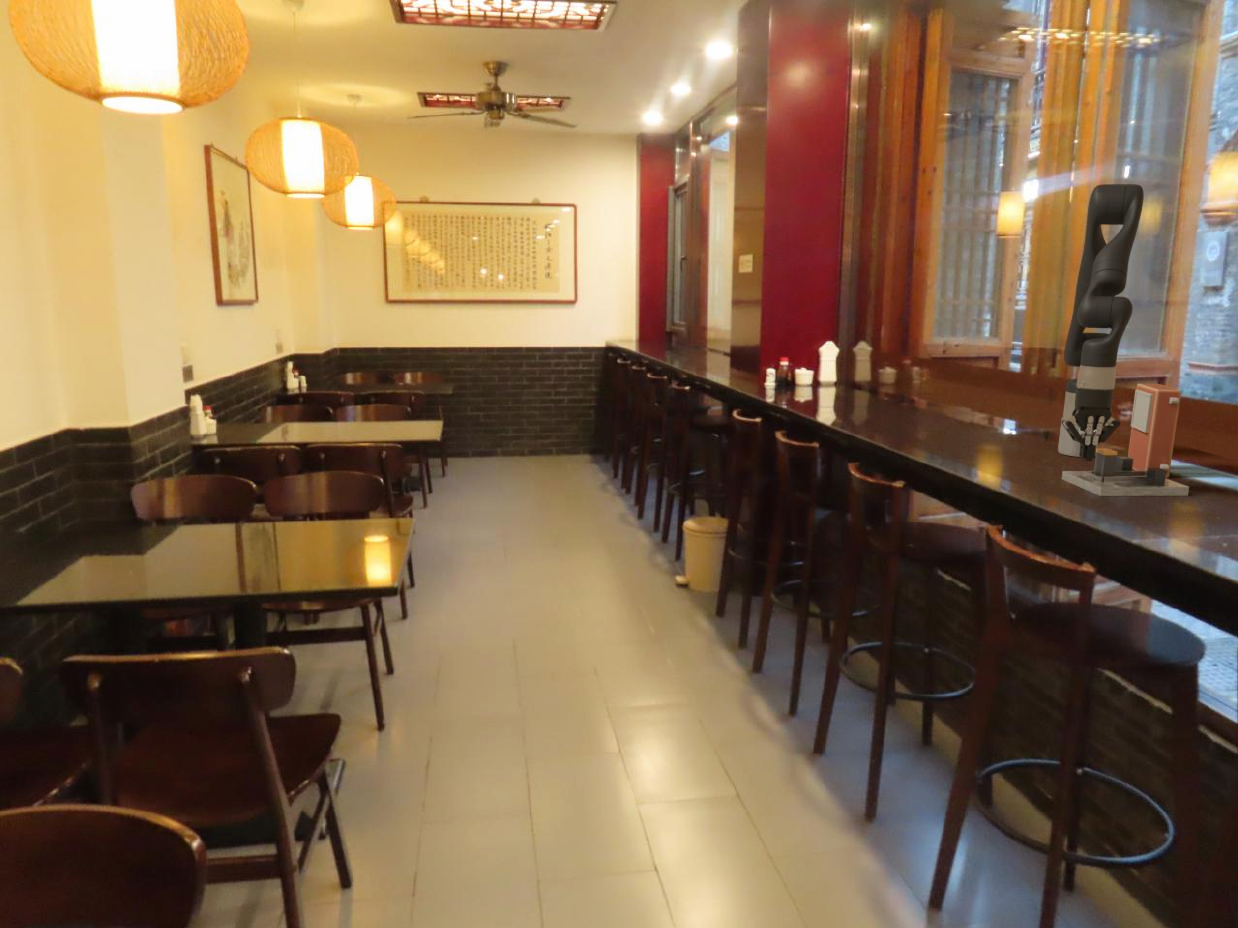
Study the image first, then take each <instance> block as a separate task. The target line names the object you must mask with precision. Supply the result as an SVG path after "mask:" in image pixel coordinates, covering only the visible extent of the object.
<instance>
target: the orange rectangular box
mask: <svg viewBox="0 0 1238 928" xmlns="http://www.w3.org/2000/svg"><path fill="white" fill-rule="evenodd" d="M1134 392H1135V393H1134V399H1133V406H1132V414H1131V422H1130V427H1131V430H1130V437H1129V444H1128V451H1127V452H1128V454H1127V457H1129V458H1132V459H1133V465H1132V470H1133V471H1148V468H1161V469H1164V470H1166V478H1169V477H1170V472H1171V465H1172V460H1173V459H1172V458H1173V451H1174V445H1175V439H1176V438H1175V437H1176V432H1177V424H1178V418H1179V416H1180V415H1179V413H1180V405H1181V403H1180V402H1181V398H1182V390H1180V389H1177V388H1174V387H1171V386H1167V385H1164V384H1160V383H1155V384H1154V383H1137V386H1136V389H1134Z"/></svg>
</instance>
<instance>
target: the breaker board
mask: <svg viewBox="0 0 1238 928" xmlns="http://www.w3.org/2000/svg"><path fill="white" fill-rule="evenodd" d="M1132 465H1133V459H1132V458H1129V457H1128V456H1117V460H1116V468H1115V476H1102V477H1101V476H1099V475H1096V474H1094V470H1063V471H1062V475H1061V480H1063V481H1065V482H1067V483H1069V484H1072V485H1074V486H1077V487H1078V488H1081V489H1083V490H1085V491H1088V492H1090V493H1092V494H1093V495H1097V496H1100V497H1142V496H1143V497H1149V496H1150V497H1151V496H1152V497H1154V496H1157V497H1158V496H1159V497H1161V496H1163V497H1164V496H1165V497H1167V496H1168V497H1170V496H1174V497H1175V496H1177V497H1178V496H1179V497H1180V496H1184V497H1185V496H1189V492H1190V491H1189V489H1190V486H1189V485H1185V484H1183V483H1180V482H1177V481H1173V480H1172V479H1168V478H1167V477H1166V470H1164V469H1161V468H1148V471H1135V470H1133V469H1132Z"/></svg>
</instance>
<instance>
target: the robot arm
mask: <svg viewBox="0 0 1238 928" xmlns="http://www.w3.org/2000/svg"><path fill="white" fill-rule="evenodd" d="M1144 195H1145V194H1144V188H1143V186H1142V185H1140V184H1136V183H1126V184H1125V183H1110V184H1109V183H1107V184H1105V183H1103V184H1098V185H1096V186H1095V187H1094V188H1093V189H1092V191H1091V193H1090V197H1089V202H1088V205H1087V206H1088V207H1087V217H1086V225H1085V235H1084V236H1085V237H1084V246H1083V250H1082V251H1083V252H1082V255H1081V261H1080V265H1079V271H1078V275H1077V280H1076V281H1077V282H1076V287H1075V289H1076V290H1075V293H1074V294H1075V295H1074V303H1073V309H1072V315H1071V320H1070V324H1069V328H1068V331H1067V337H1066V340H1065V345H1064V348H1063V361H1064V362H1065V365H1066V366H1069V367H1075V368H1078V367H1079V370H1078V373H1077V378H1074V379H1070V380H1068V381H1067V382H1066V387H1065V394H1064V395H1065V397H1064V406H1063V414H1062V417H1061V421H1060V430H1059V437H1058V438H1059V439H1058V447H1057V451H1058V453H1059V454H1061V455H1065V456H1071V457H1079V458H1080V460H1082V461H1083V462H1092V461H1093V459H1094V458H1095V457H1096V449H1098V446H1099V445H1098V444H1101V443H1105V442H1106V441H1107V440H1108V439H1109V438H1110V437H1111V435H1112V434H1113V433H1114V432H1115V431H1116V430H1117V429H1118V428H1119V427H1120V426H1121V421H1119V420H1116V419H1115V418H1114V417H1113V413H1112V410H1111V409H1112V406H1113V402H1114V401H1113V399H1114V394H1115V393H1114V392H1115V385H1116V378H1117V377H1116V376H1117V375H1116V374H1117V372H1116V371H1117V369H1116V367H1117V362H1118V361H1117V360H1118V352H1119V347H1120V343H1121V339H1122V338H1123V335H1124V332H1125V330H1126V328H1127V326H1128V324H1129V321H1130V320H1131V317H1132V314H1133V309H1134V307H1133V304H1132V302H1131V300H1130V299H1129V298H1128V297H1126V296H1118V295H1119V294H1121V293H1123V292H1124V290H1125V289H1126V285H1127V278H1128V269H1129V261H1130V257H1131V256H1130V255H1131V253H1132V250H1133V245H1134V243H1135V239H1136V235H1137V233H1138V232H1137V231H1138V229H1139V224H1140V219H1141V215H1142V210H1143V206H1144V200H1145V199H1144V198H1145V197H1144ZM1104 225H1105V226H1107V225H1110V226H1114V225H1115V226H1118V225H1119V226H1122V227H1121V229H1120V230H1119V231H1118V232H1117V234H1116V235H1115V236H1114V237H1112V239H1111V240H1110V241H1109V242H1107V241H1106V240H1105V238H1104V234H1103V229H1102V226H1104ZM1087 328H1088V329H1111V331H1110V332H1109V333H1106V332H1085V330H1086V329H1087Z"/></svg>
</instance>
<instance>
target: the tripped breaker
mask: <svg viewBox="0 0 1238 928" xmlns="http://www.w3.org/2000/svg"><path fill="white" fill-rule="evenodd" d="M1117 457H1118V450H1117V451H1116V450H1114V449H1110V448H1097V449H1096V456H1095V457H1094V458H1095V459H1094V467H1093V471H1094V474H1096V475H1099V476H1101V477H1102V476H1115V468H1116V460H1117Z"/></svg>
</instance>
